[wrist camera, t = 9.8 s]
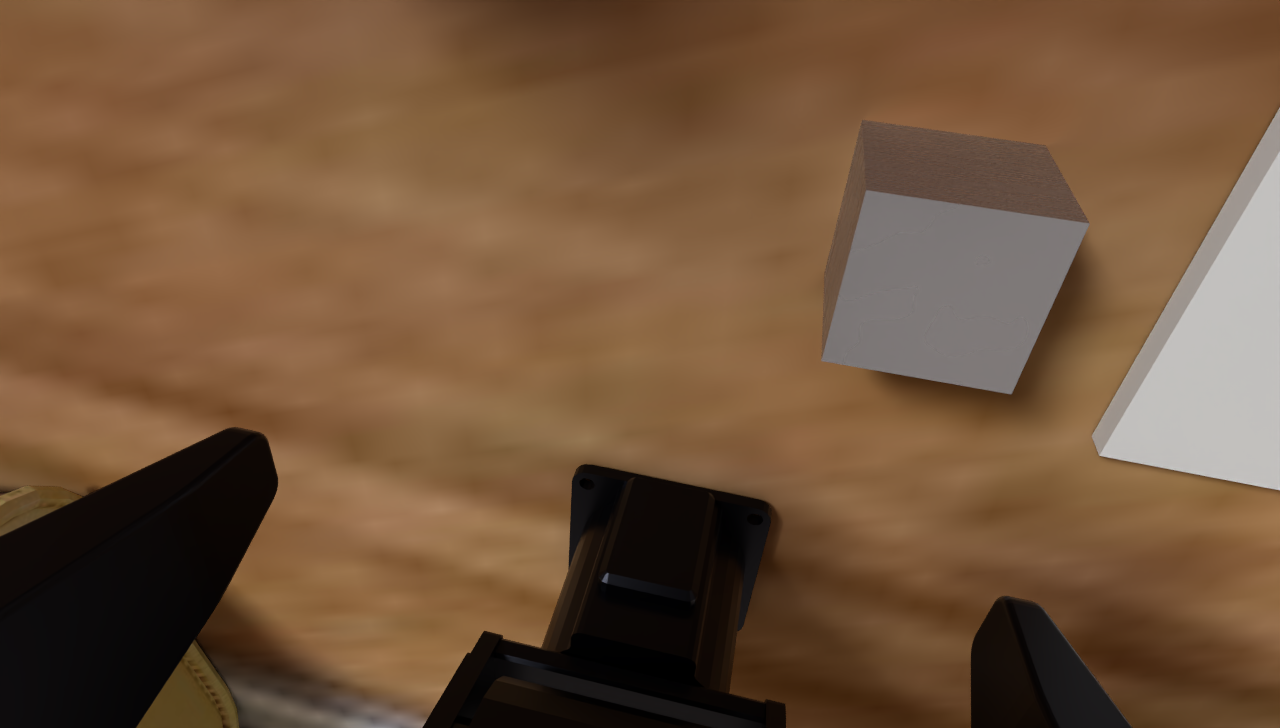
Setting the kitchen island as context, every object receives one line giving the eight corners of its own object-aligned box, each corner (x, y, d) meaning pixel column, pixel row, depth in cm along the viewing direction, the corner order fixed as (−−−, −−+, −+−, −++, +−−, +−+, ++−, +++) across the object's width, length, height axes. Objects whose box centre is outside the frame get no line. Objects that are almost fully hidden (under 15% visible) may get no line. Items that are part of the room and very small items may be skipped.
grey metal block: (984, 297, 20) (1011, 394, 17) (824, 271, 20) (821, 360, 17) (1044, 143, 17) (1090, 223, 14) (862, 118, 18) (865, 190, 15)
